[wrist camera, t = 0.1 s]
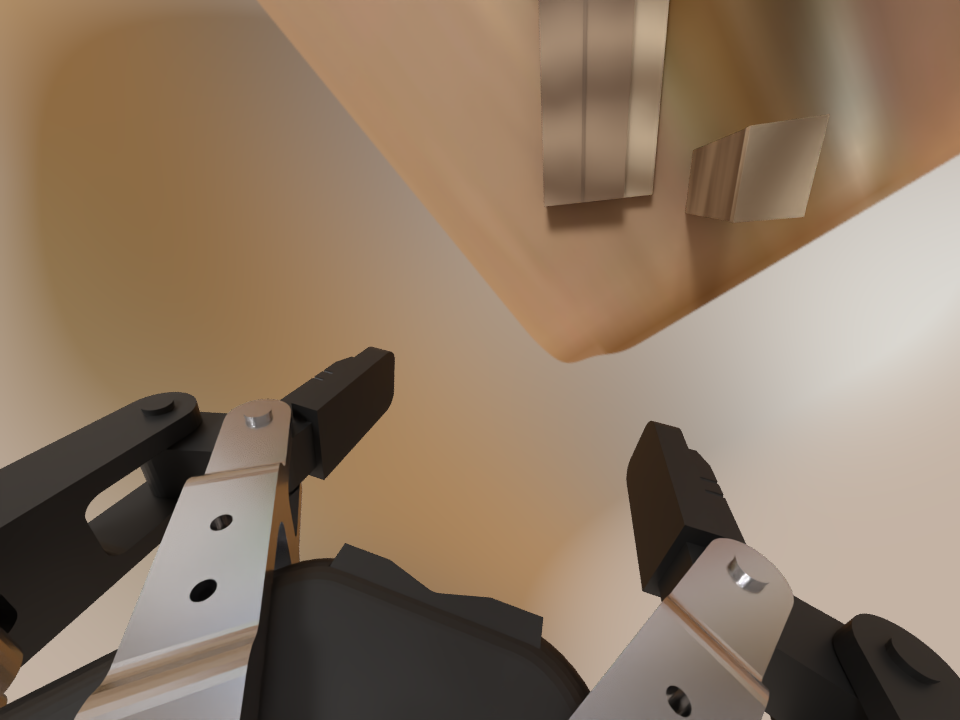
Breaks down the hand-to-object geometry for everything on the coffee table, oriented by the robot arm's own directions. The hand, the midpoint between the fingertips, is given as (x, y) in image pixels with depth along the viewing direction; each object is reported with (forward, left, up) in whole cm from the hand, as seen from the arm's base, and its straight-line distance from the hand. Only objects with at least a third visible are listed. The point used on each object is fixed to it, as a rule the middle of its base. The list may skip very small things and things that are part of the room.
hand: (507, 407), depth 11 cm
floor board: (-15, -1, -29) cm, 33 cm away
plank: (-9, +11, -29) cm, 32 cm away
